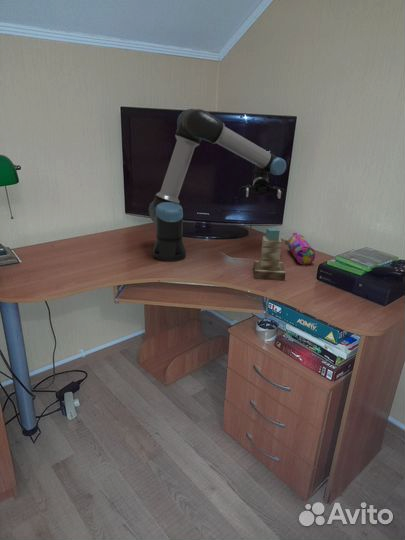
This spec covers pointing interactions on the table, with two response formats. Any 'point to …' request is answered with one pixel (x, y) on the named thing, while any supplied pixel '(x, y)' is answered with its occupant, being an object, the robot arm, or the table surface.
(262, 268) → the wooden block tower
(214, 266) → the table surface
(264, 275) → the dock
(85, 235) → the table surface
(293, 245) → the pencil case
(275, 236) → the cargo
